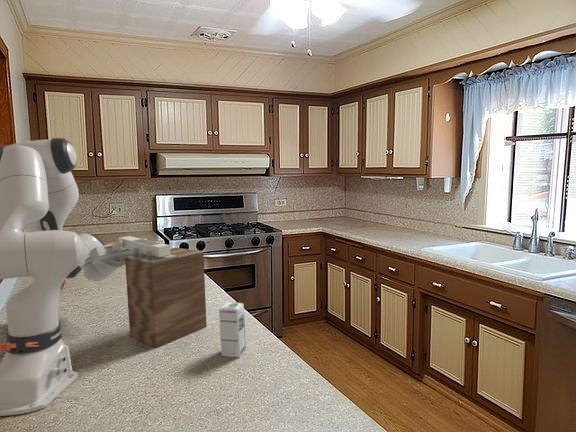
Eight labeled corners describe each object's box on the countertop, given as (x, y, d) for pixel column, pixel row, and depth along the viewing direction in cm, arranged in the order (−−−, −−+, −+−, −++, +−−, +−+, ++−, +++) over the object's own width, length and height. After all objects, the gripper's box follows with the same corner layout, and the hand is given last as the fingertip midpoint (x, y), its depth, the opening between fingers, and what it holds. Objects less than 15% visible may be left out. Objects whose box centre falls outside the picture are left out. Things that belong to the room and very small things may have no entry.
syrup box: (240, 358, 120) (238, 309, 118) (220, 356, 121) (218, 307, 119) (246, 349, 125) (244, 302, 123) (227, 347, 126) (225, 301, 125)
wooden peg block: (206, 326, 143) (203, 243, 139) (156, 348, 127) (151, 254, 123) (180, 318, 151) (176, 239, 147) (130, 337, 135) (124, 248, 132)
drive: (170, 254, 130) (169, 244, 130) (159, 257, 127) (158, 247, 126) (129, 244, 143) (129, 235, 143) (118, 246, 140) (118, 237, 140)
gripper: (79, 254, 140) (97, 237, 131) (134, 244, 156) (153, 228, 148) (85, 271, 138) (103, 255, 130) (140, 259, 154) (159, 244, 146)
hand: (130, 241), depth 139 cm, fingers closed on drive, 4 cm apart
